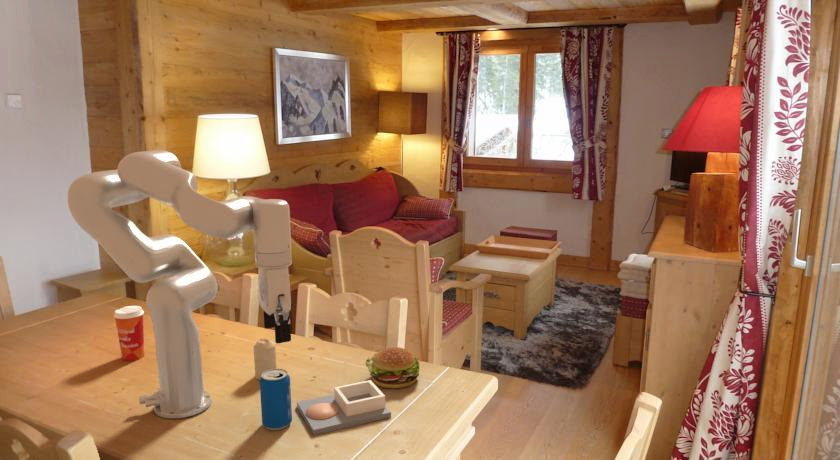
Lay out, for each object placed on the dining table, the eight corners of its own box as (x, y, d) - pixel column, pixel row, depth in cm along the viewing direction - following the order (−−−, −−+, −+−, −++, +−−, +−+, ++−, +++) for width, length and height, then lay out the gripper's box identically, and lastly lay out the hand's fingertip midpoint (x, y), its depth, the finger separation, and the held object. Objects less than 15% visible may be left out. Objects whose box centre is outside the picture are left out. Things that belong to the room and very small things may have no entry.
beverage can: (285, 433, 134) (282, 381, 131) (257, 430, 135) (254, 379, 133) (296, 418, 140) (294, 369, 138) (270, 415, 141) (267, 366, 139)
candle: (281, 374, 163) (279, 338, 161) (268, 382, 158) (265, 345, 156) (264, 370, 165) (262, 334, 163) (250, 378, 161) (248, 342, 159)
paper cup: (111, 360, 172) (106, 312, 170) (133, 350, 179) (129, 303, 177) (133, 364, 169) (128, 315, 167) (154, 353, 176) (150, 307, 174)
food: (368, 368, 167) (367, 340, 165) (420, 368, 166) (420, 340, 165) (362, 391, 153) (361, 361, 152) (418, 392, 153) (418, 361, 151)
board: (313, 435, 133) (312, 417, 132) (297, 406, 145) (296, 390, 145) (391, 417, 141) (390, 399, 140) (368, 391, 153) (368, 375, 152)
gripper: (246, 251, 137) (251, 324, 141) (265, 269, 122) (269, 351, 125) (280, 247, 140) (283, 319, 144) (302, 265, 125) (305, 345, 129)
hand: (277, 334), depth 135 cm, fingers open, 9 cm apart
